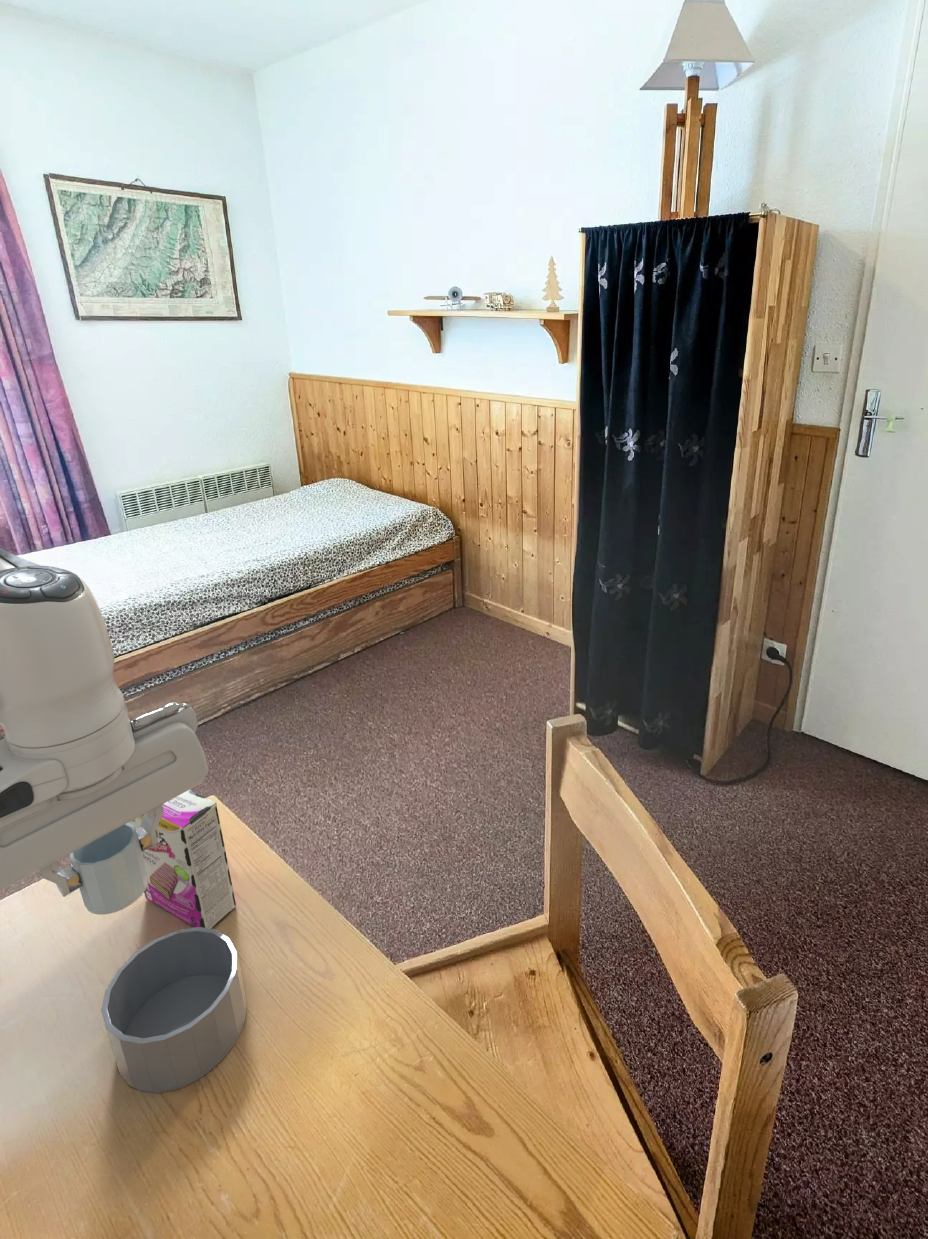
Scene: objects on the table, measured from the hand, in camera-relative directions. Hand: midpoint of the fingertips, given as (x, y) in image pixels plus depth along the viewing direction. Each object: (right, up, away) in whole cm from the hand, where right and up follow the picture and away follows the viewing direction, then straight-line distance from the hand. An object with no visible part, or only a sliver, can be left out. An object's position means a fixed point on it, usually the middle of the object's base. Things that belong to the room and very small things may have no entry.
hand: (109, 866), depth 64 cm
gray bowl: (+5, -19, +5) cm, 20 cm away
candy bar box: (-2, -14, +19) cm, 24 cm away
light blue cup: (0, -3, +1) cm, 3 cm away
